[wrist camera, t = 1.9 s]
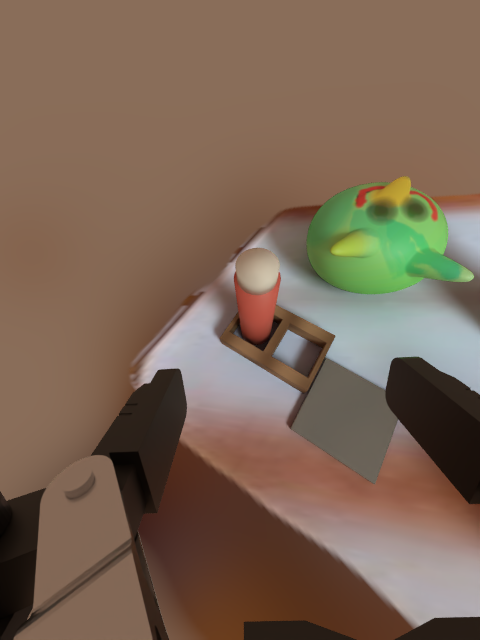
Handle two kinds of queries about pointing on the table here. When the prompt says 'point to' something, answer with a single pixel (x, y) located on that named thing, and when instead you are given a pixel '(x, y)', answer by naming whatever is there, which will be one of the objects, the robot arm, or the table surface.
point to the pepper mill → (257, 293)
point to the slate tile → (347, 419)
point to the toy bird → (381, 239)
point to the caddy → (265, 357)
